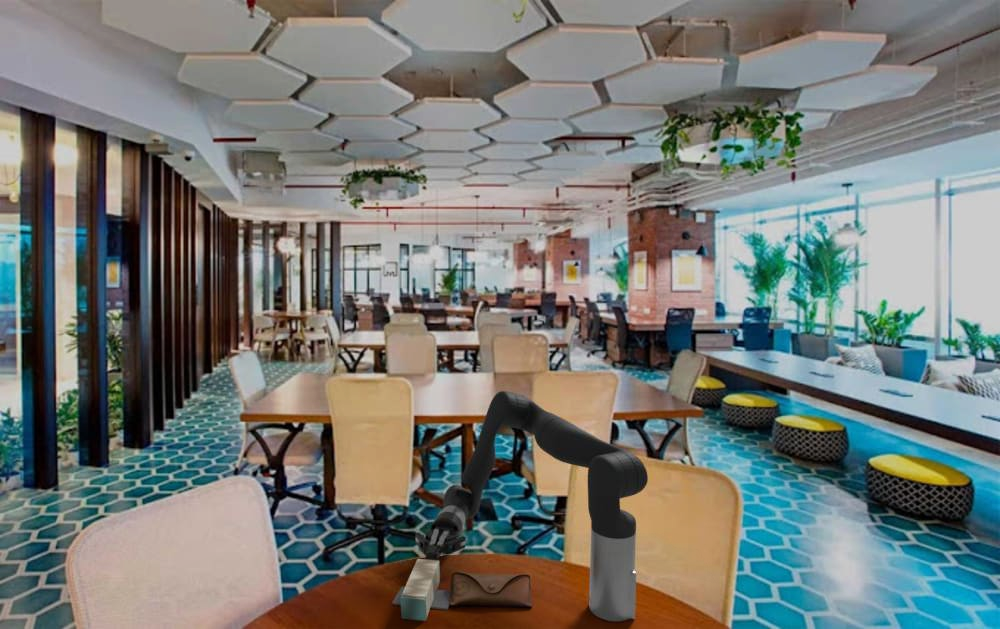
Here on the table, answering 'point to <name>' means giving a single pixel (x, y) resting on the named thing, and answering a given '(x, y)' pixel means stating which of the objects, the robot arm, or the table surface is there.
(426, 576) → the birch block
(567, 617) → the table surface
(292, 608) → the table surface
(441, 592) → the rubber mat
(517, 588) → the sunglasses case
